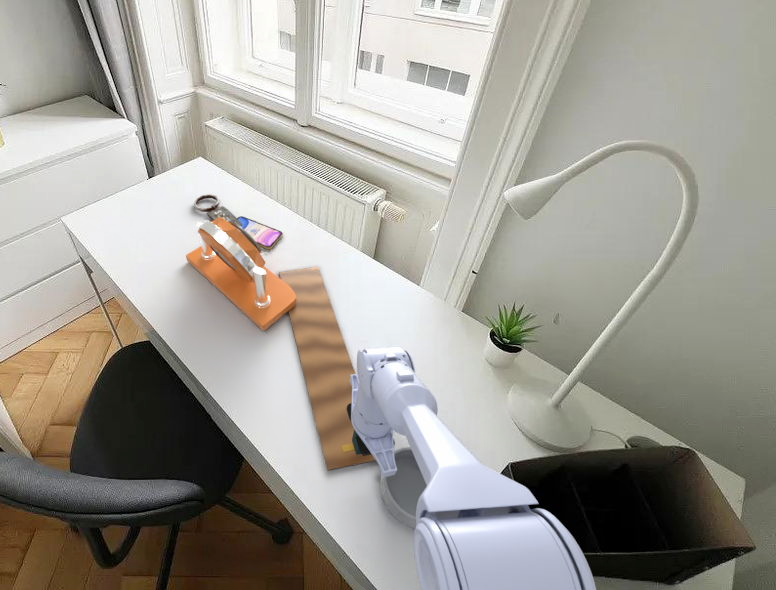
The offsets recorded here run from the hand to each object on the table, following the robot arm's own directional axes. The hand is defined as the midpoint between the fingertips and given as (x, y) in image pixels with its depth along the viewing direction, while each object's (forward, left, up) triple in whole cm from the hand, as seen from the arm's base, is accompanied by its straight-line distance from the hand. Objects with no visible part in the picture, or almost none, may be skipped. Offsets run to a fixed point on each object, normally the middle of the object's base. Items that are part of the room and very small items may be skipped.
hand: (364, 443), depth 67 cm
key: (0, 0, -1) cm, 1 cm away
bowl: (-8, -5, -4) cm, 10 cm away
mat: (+21, -2, -4) cm, 22 cm away
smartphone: (+60, 0, -4) cm, 61 cm away
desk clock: (+45, +9, -4) cm, 46 cm away
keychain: (+72, +8, -4) cm, 73 cm away
